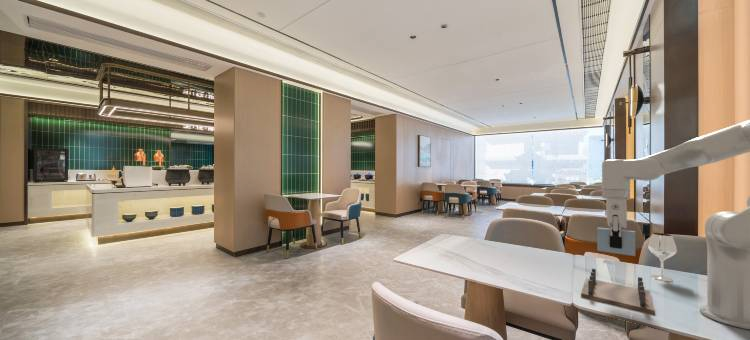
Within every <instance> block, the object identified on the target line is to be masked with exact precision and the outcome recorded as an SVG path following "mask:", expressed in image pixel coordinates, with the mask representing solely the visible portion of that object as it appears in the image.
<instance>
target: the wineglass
mask: <svg viewBox="0 0 750 340" xmlns="http://www.w3.org/2000/svg"><path fill="white" fill-rule="evenodd" d="M647 248H648V250H649V251H650V252H651V254H653V255H654V256H655V257H656V258H658V259H659V261H660V275H658V274H651V275H650V277H651V278H652V279H655V280H657V281H663V282H674V279H673V278H671V277H668V276H664V275H665V273H664V271H665V270H664V262H665V261H666V260H668V259H670V258H672V257H673V256H674V255H676V254H677V252H678V249H677V245H676V242H675V239H674V237H673V235H672V234H669V233H668V234H667V233H662V232H661V233H660V232H652V233H651V235H650V238H649V241H648V245H647Z"/></svg>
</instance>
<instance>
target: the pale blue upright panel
mask: <svg viewBox="0 0 750 340" xmlns="http://www.w3.org/2000/svg"><path fill="white" fill-rule="evenodd" d="M610 229H611V228H610V227H608V228H607V227H597V229H596V231H597V233H596V236H597V237H596V238H597V240H596V241H597V244H596V245H597V247H596V248H597V249H596V251H598V252H605V253H611V254H619V255H623V256H633V257H636V231H635V230H628V229H621V237H622V248H621V249H619V248H612V247H610V236H611V235H610ZM612 234H613V233H612ZM612 236H613V235H612Z"/></svg>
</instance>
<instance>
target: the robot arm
mask: <svg viewBox="0 0 750 340" xmlns="http://www.w3.org/2000/svg"><path fill="white" fill-rule="evenodd" d="M746 153H747V154H748V153H750V119H748V120H745V121H742V122H739V123H736V124H733V125H730V126H728V127H725V128H721V129H719V130H716V131H713V132H710V133H707V134H704V135H701V136H699V137H695V138H692V139H691V140H688V141H685V142H683V143H681V144H679V145H676V146H674V147H672V148H671V147H670V148H669V149H668V148H667V149H666V150H663V151H659V152H658V153H657V152H656V153H654V154H651V155H648V156H645V157H642V158H637V159H635V158H634V159H621V158H619V159H616V158H615V159H606V160H605V159H604V161H602V163H601V198H602V199H604V200H605V199H606V201H605V206H606V209H605V210H606V221H607V227H608V228H609V229H610V235H611V236H610V247H612V248H619V249H621V248H622V237H621V230H622V228H623V230H626V229H627V224H628V222H627V221H628V219H627V217H628V215H627V214H628V213H627V211H628V209H627V208H628V206H627V201H629V200H631V180H636V181H645V182H648V181H649V182H650V181H654V180H657V179H659V178H660V177H661V176H664V175H667V174H671V173H674V172H677V171H681V170H685V169H689V168H694V167H702V166H705V165H710V164H715V163H718V162H721V161H724V160H727V159H730V158H733V157H734V158H735V157H737V156H740V155H743V154H746ZM612 233H613V234H612ZM612 235H613V236H612ZM704 235H705V240H706V241H705V242H706V252H707V253H706V254H707V255H706V256H707V259H706V262H707V265H706V271H707V275H706V276H707V277H706V278H707V285H706V286H707V287H706V288H707V290H706V293H707V294H706V295H707V296H706V298H707V299H706V301H707V304H706V305H701V306H700V307H699V312H700V313H701V314H702V315H703V316H705V317H707V318H709V319H712V320H714V321H716V322H719V323H722V324H725V325H728V326H733V327H736V328H740V329H746V330H750V196H749V197H747V199H746V208H745V209H743V210H742V211H741V210H740V212H737V211H730V210H729V211H728V210H725V211H717V212H716V213H713V214H712V215H710V216H709V217H707V219H706V221H705V223H704Z"/></svg>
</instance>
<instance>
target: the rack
mask: <svg viewBox="0 0 750 340" xmlns="http://www.w3.org/2000/svg"><path fill="white" fill-rule="evenodd" d="M596 272H597V270H596V268H591V271H590V275H589V277H585V281H584V283H583V286H582V289H581V292H580V298H585V299H589V300H593V301H597V302H602V303H605V304H609V305H614V306H617V307H618V306H619V307H622V308H626V309H630V310H635V311H639V312H642V313H647V314H651V315H655V308H654V303H653V300H652V295H651V291H650V290H647V289H645V286H644V281H643V277H642V276H637V287H633V286H632V287H631V286H628V285H622V284H617V283H613V282H609V281H604V280H603V281H602V280H598V279H597V277H596V276H597V273H596Z"/></svg>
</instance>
